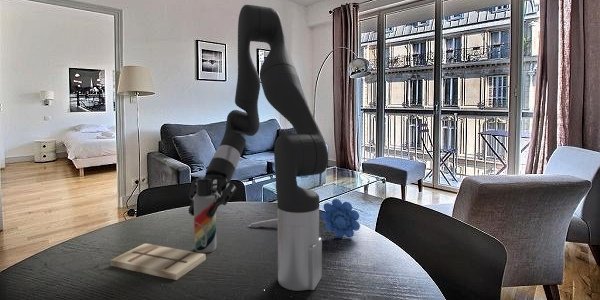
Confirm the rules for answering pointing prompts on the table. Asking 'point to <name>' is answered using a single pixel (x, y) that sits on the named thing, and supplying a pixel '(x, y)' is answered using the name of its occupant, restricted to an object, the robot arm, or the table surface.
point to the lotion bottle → (204, 217)
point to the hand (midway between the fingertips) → (199, 215)
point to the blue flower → (340, 218)
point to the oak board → (159, 261)
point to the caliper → (264, 223)
